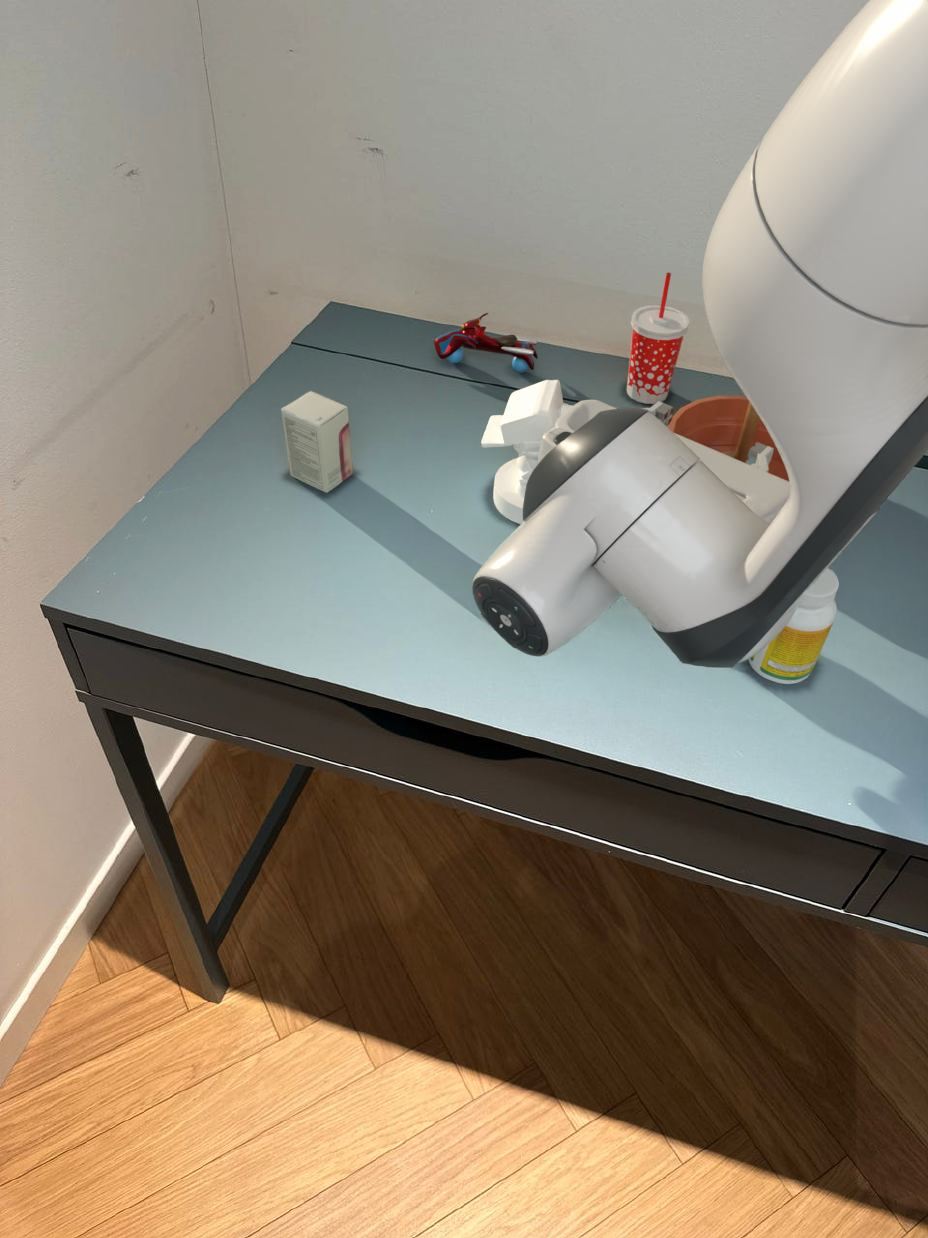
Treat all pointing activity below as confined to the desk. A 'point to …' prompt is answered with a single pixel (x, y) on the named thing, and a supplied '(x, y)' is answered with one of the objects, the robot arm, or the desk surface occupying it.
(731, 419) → the bowl
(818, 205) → the robot arm
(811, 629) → the supplement bottle
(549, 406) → the character figurine
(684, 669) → the desk surface
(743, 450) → the wooden post stand
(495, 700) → the desk surface
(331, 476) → the small box
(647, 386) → the beverage cup
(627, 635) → the desk surface
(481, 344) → the hoverbike
